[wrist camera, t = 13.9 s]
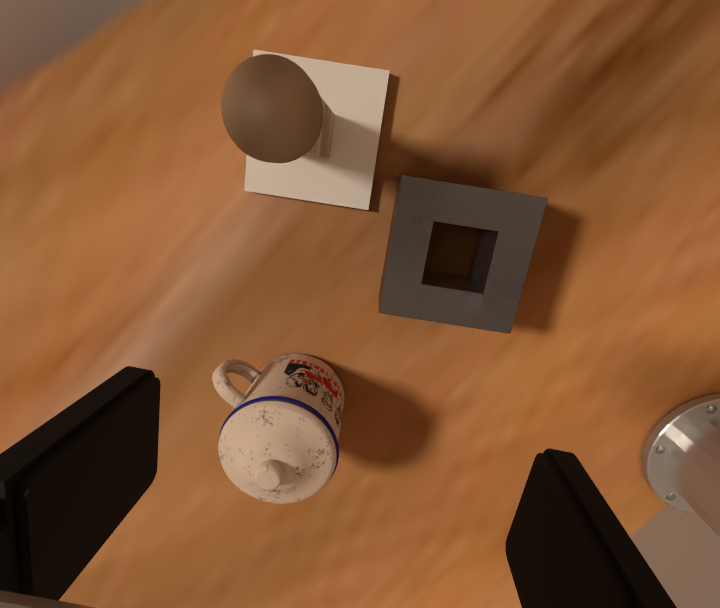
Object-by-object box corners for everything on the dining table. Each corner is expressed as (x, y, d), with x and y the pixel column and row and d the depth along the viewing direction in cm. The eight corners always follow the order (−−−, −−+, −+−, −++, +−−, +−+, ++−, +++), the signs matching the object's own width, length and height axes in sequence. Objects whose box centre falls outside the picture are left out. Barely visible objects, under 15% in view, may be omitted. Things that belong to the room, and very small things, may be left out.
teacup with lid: (367, 394, 39) (362, 482, 28) (303, 452, 41) (274, 554, 30) (271, 308, 37) (223, 365, 26) (208, 373, 39) (140, 451, 28)
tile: (389, 73, 31) (389, 70, 30) (368, 209, 34) (368, 210, 33) (256, 52, 31) (253, 49, 30) (247, 190, 34) (244, 190, 33)
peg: (346, 104, 31) (325, 62, 19) (338, 171, 33) (313, 169, 21) (283, 94, 31) (224, 46, 19) (277, 161, 33) (219, 154, 21)
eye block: (524, 194, 33) (547, 198, 28) (493, 312, 36) (510, 333, 31) (399, 175, 33) (402, 175, 28) (378, 294, 36) (378, 312, 31)
